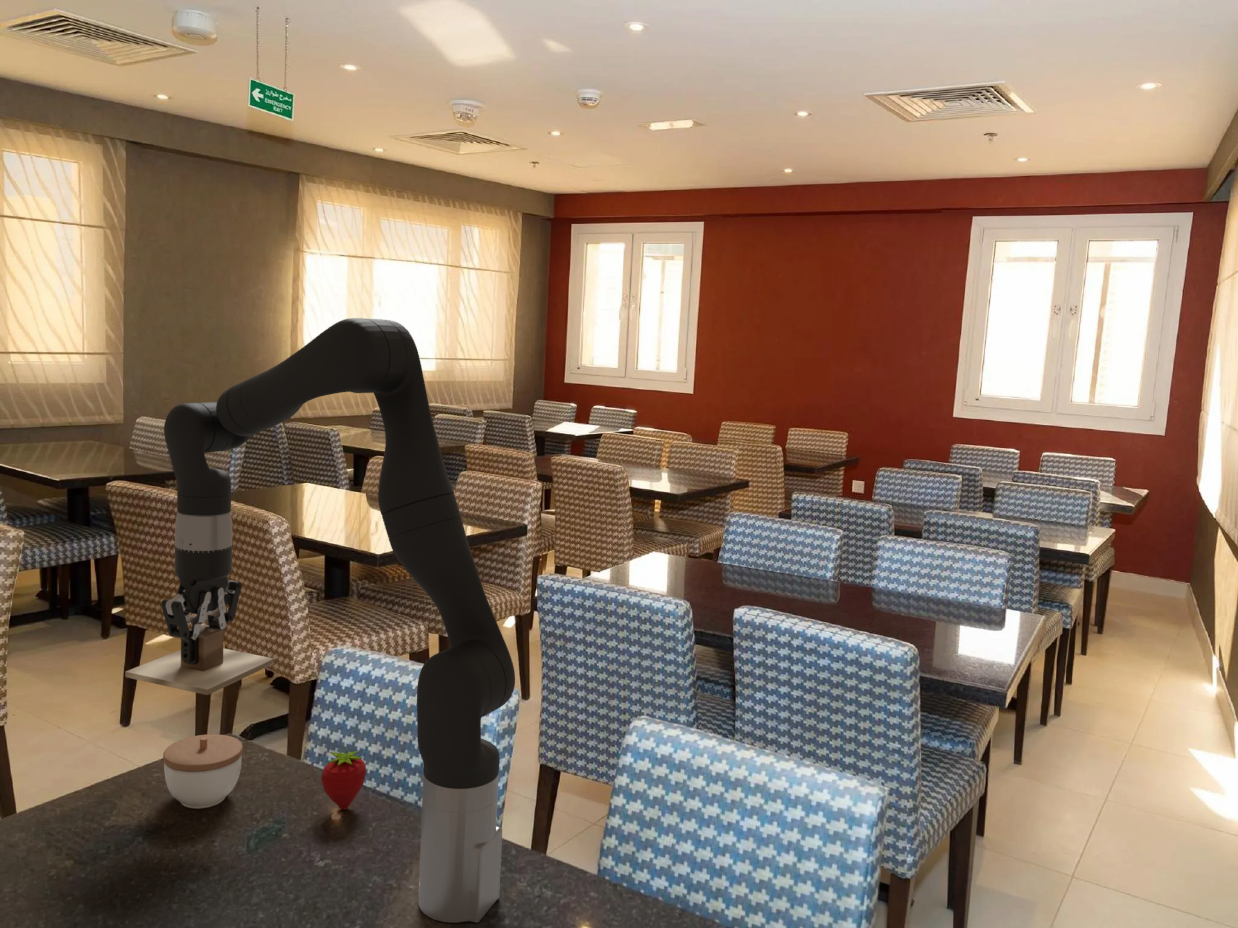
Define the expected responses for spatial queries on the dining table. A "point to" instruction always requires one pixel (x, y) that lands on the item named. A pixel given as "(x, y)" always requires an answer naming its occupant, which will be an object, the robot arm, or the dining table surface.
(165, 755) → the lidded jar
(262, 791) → the dining table surface
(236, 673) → the lid
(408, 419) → the robot arm
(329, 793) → the strawberry
